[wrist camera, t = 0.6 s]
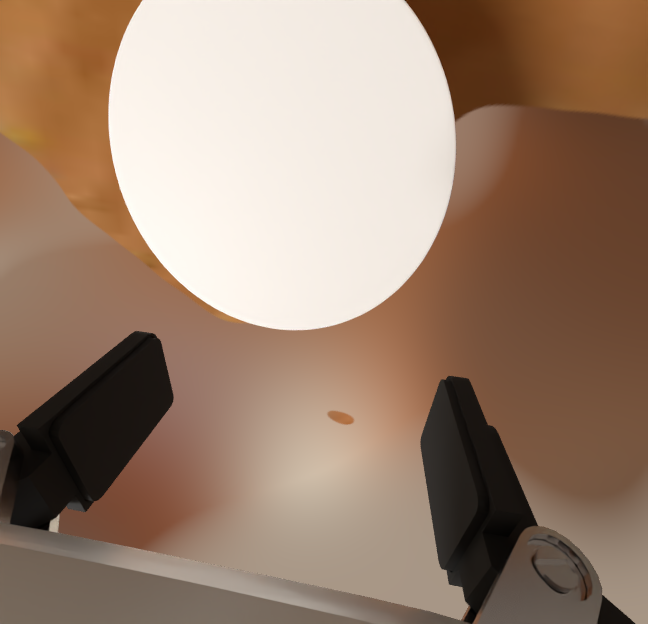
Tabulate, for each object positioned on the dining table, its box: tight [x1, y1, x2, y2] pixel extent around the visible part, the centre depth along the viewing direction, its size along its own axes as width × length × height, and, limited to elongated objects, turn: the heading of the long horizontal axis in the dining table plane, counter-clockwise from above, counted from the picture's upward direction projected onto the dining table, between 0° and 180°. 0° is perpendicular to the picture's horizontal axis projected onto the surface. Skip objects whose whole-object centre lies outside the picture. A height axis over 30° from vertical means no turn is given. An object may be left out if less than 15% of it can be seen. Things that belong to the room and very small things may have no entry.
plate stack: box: [109, 0, 456, 330], centre depth 30 cm, size 28×28×12 cm
